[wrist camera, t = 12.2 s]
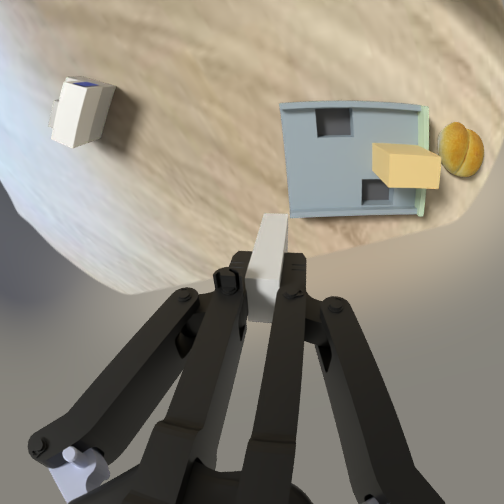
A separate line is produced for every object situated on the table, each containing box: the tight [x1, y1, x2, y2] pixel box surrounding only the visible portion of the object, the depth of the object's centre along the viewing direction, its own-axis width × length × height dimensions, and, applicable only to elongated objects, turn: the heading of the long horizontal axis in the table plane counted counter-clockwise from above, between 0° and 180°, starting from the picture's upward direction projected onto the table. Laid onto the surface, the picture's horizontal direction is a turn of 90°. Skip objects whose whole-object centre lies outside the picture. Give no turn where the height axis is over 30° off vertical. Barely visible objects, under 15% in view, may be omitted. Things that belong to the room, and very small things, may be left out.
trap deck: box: [279, 101, 429, 218], centre depth 36 cm, size 20×16×4 cm
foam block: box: [48, 76, 116, 149], centre depth 34 cm, size 10×10×8 cm
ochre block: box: [372, 143, 441, 189], centre depth 31 cm, size 7×4×8 cm, turn 96°
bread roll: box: [437, 122, 484, 177], centre depth 32 cm, size 8×9×4 cm
